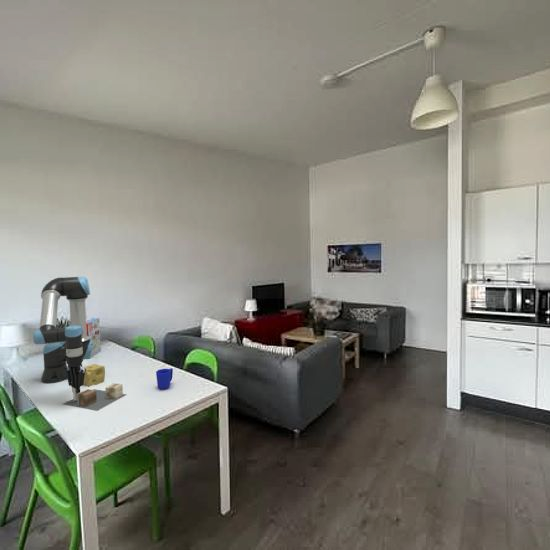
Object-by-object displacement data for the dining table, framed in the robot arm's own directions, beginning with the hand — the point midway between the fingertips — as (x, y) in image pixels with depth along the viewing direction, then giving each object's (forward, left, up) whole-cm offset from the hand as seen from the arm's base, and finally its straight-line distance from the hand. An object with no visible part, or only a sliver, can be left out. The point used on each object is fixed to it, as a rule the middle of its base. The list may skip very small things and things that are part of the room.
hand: (76, 398), depth 174 cm
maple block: (+14, +11, -1) cm, 18 cm away
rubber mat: (+7, +5, -2) cm, 9 cm away
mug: (+32, +32, -2) cm, 46 cm away
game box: (-63, +66, -2) cm, 91 cm away
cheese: (-15, +23, -2) cm, 27 cm away
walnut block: (+4, 0, +2) cm, 5 cm away
